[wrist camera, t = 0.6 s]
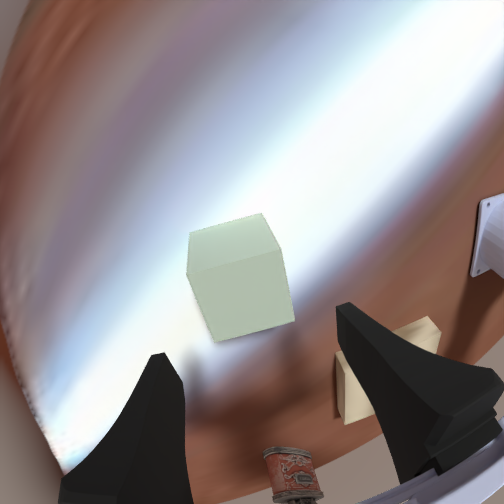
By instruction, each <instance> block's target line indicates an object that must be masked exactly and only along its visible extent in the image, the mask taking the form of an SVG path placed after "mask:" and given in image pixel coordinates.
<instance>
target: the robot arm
mask: <svg viewBox="0 0 504 504" xmlns="http://www.w3.org/2000/svg"><path fill="white" fill-rule="evenodd" d="M490 269H492V270H493V271H494V272H496V273H497V274H498V275H499V276H501V277H502V278H503V279H504V193H503V194H499V195H496V196H493V197H490V198H487V199H483V200H482V201H481V202H480V205H479V215H478V225H477V233H476V241H475V248H474V254H473V260H472V266H471V271H470V275H471V276H472V277H476V276H478V275H480V274H482V273H484V272H486V271H488V270H490ZM336 319H337V336H338V343H339V345H340V347H341V350H342V352H343V354H344V357H345V359H346V361H347V363H348V365H349V366H350V368H351V370H352V371H353V373H354V375H355V377H356V378H357V380H358V382H359V383H360V385H361V387H362V389H363V390H364V392H365V394H366V396H367V397H368V399H369V401H370V403H371V405H372V407H373V409H374V411H375V414H376V416H377V419H378V421H379V423H380V426H381V428H382V431H383V434H384V436H385V439H386V441H387V444H388V447H389V450H390V453H391V456H392V459H393V462H394V465H395V468H396V472H397V475H398V478H399V482H400V485H399V486H397V487H395V488H393V489H390V490H388V491H386V492H384V493H381V494H379V495H377V496H374V497H372V498H369V499H367V500H364V501H362V502H359V503H356V504H399V503H402V502H404V501H406V500H408V499H409V500H408V501H407V502H405V503H403V504H481V503H482V502H483V501H484V500H486V499H487V498H488V497H489V496H491V495H492V494H493V493H494V492H496V491H497V490H498V489H499V488H501V487H502V486H503V485H504V416H503V417H502V418H501V419H500V420H499V421H498V422H497V420H496V419H495V416H496V415H497V413H496V411H495V410H494V408H493V407H494V405H495V404H496V402H497V401H498V399H499V398H500V396H501V395H502V393H503V391H504V383H503V381H502V380H501V379H500V377H499V376H498V375H497V374H496V373H495V372H494V370H493V369H491V368H485V367H479V366H474V365H469V364H465V363H461V362H457V361H454V360H451V359H448V358H445V357H442V356H439V355H437V354H434V353H431V352H429V351H427V350H424V349H422V348H420V347H418V346H416V345H414V344H412V343H410V342H408V341H407V340H405V339H403V338H401V337H400V336H398V335H396V334H395V333H393V332H391V331H390V330H388V329H387V328H385V327H384V326H382V325H381V324H379V323H378V322H376V321H375V320H374V319H372V318H371V317H369V316H368V315H367V314H365V313H364V312H363V311H361V310H360V309H359V308H357V307H356V306H355V305H353V304H352V303H350V302H348V303H345V304H342V305H339V306H336ZM58 504H194V502H193V498H192V494H191V489H190V483H189V478H188V472H187V465H186V457H185V397H184V389H183V382H182V380H181V379H180V377H179V375H178V374H177V372H176V371H175V369H174V367H173V366H172V364H171V362H170V361H169V359H168V357H167V356H166V354H165V352H164V353H159V354H155V355H151V357H150V359H149V361H148V363H147V365H146V367H145V369H144V371H143V373H142V375H141V377H140V379H139V381H138V383H137V385H136V386H135V388H134V390H133V392H132V394H131V396H130V398H129V400H128V401H127V403H126V405H125V407H124V408H123V410H122V412H121V414H120V415H119V417H118V418H117V420H116V421H115V423H114V424H113V426H112V427H111V428H110V430H109V431H108V433H107V434H106V435H105V436H104V438H103V439H102V440H101V441H100V442H99V444H98V445H97V446H96V447H95V448H94V449H93V451H92V452H91V453H90V454H89V455H88V456H87V457H86V458H85V459H84V460H83V461H82V462H81V463H79V464H78V465H77V466H76V467H75V468H74V469H73V470H71V471H70V472H69V473H68V474H66V475H65V476H64V477H63V478H62V479H61V485H60V492H59V499H58Z"/></svg>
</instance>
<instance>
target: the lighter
mask: <svg viewBox="0 0 504 504" xmlns="http://www.w3.org/2000/svg"><path fill="white" fill-rule="evenodd" d="M263 457H264V459H265V460H266V464H267V468H268V473H269V477H270V482H271V486H272V491H273V502H274V503H282V504H317V503H316V502H315V501H317V500H319V499H321V498H323V497H324V495H323V492H322V491H321V490H320V487H319V484H318V481H317V478H316V474H315V471H314V468H313V465H312V462H311V459H312V457H311V454H310V452H308V451H305V450H301V449H297V448H289V447H271V448H268V449H266V450H265V451H263Z"/></svg>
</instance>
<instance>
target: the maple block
mask: <svg viewBox="0 0 504 504" xmlns="http://www.w3.org/2000/svg"><path fill="white" fill-rule="evenodd" d="M392 332H393V333H395V334H396V335H398V336H400V337H401V338H403V339H405V340H407V341H408V342H410V343H412V344H414V345H416V346H418V347H420V348H422V349H424V350H427V351H429V352H431V353H434V354H436V351H437V347H438V344H439V340H440V336H441V331H440V330H439V329H438V328H437V327H436V326H435V324H434V323H433V322H432V321H431V320H430V319H429V317H428V316H426V317H424V318H422V319H420V320H417V321H415V322H413V323H411V324H408V325H406V326H404V327H401V328H399V329H397V330H394V331H392ZM335 358H336V379H337V408H338V410H339V413H340V415H341V418H342V420H343V423H344V425H347V424H349V423H352V422H355V421H357V420H360V419H363V418H365V417H368V416H370V415H373V414H375V411H374V409H373V407H372V405H371V403H370V401H369V399H368V397H367V396H366V394H365V392H364V390H363V389H362V387H361V385H360V383H359V382H358V380H357V378H356V377H355V375H354V373H353V371H352V370H351V368H350V366H349V365H348V363H347V361H346V359H345V357H344V354H343V352H342V351H339V352H336V353H335Z"/></svg>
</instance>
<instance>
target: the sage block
mask: <svg viewBox="0 0 504 504" xmlns="http://www.w3.org/2000/svg"><path fill="white" fill-rule="evenodd" d="M186 275H187V278H188V280H189V283H190V285H191V288H192V290H193V293H194V295H195V298H196V300H197V303H198V305H199V307H200V310H201V312H202V315H203V317H204V319H205V322H206V324H207V327H208V329H209V331H210V333H211V336H212V338H213V340H214V343H215V342H219V341H223V340H227V339H231V338H235V337H239V336H243V335H247V334H250V333H254V332H258V331H261V330H265V329H269V328H272V327H276V326H279V325H283V324H286V323H290V322H293V321H295V318H294V313H293V307H292V302H291V297H290V291H289V286H288V281H287V276H286V271H285V266H284V261H283V256H282V251H281V248H280V246H279V244H278V242H277V240H276V238H275V236H274V235H273V233H272V231H271V229H270V227H269V225H268V223H267V222H266V220H265V218H264V216H263V214H262V213H259V214H255V215H251V216H248V217H244V218H240V219H237V220H233V221H229V222H226V223H222V224H218V225H215V226H211V227H208V228H204V229H201V230H197V231H194V232H190V234H189V246H188V259H187V272H186Z"/></svg>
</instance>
